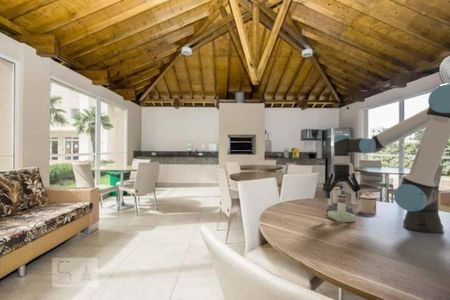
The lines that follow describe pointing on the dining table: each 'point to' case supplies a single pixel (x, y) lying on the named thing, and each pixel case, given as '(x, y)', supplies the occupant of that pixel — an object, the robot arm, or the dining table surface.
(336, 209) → the fuse block
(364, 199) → the teacup with lid
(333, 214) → the parts tray
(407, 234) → the dining table surface
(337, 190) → the fuse
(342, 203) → the cylinder
